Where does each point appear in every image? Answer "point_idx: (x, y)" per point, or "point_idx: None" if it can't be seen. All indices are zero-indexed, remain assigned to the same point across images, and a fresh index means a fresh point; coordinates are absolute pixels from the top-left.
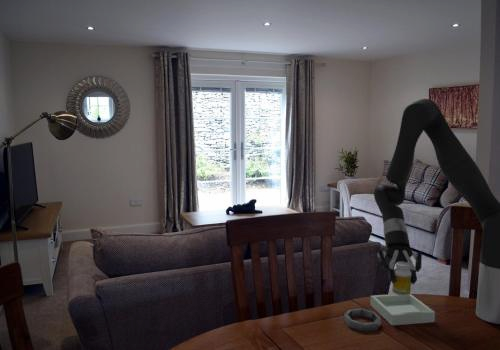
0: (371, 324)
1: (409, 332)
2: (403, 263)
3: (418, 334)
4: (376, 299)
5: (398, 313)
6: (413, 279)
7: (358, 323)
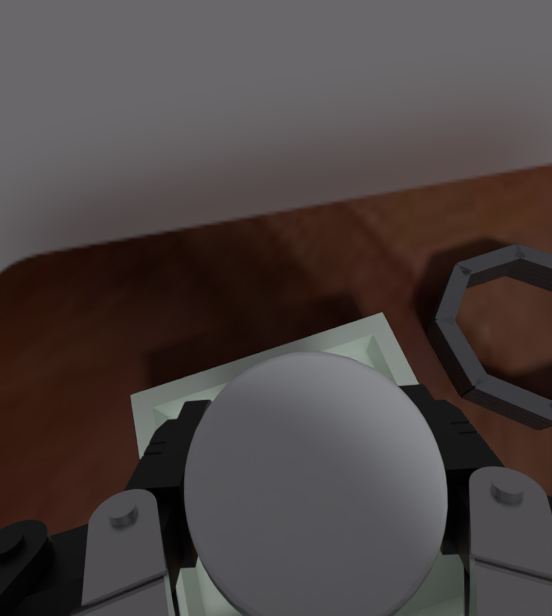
0: (479, 256)
1: (302, 289)
2: (300, 486)
3: (268, 281)
4: None
5: (346, 338)
6: (200, 407)
7: (541, 251)
